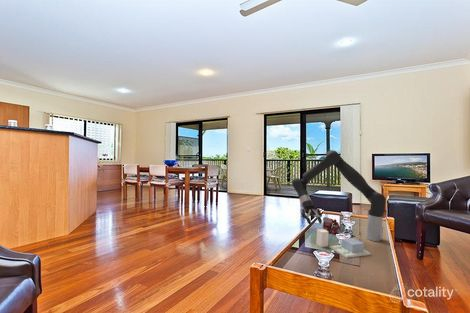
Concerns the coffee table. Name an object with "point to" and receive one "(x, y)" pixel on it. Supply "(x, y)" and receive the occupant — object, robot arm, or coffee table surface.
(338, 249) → the building plate
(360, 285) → the coffee table surface
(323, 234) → the cream column brick
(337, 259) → the coffee table surface
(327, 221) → the dark red irregular lump
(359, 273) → the coffee table surface
